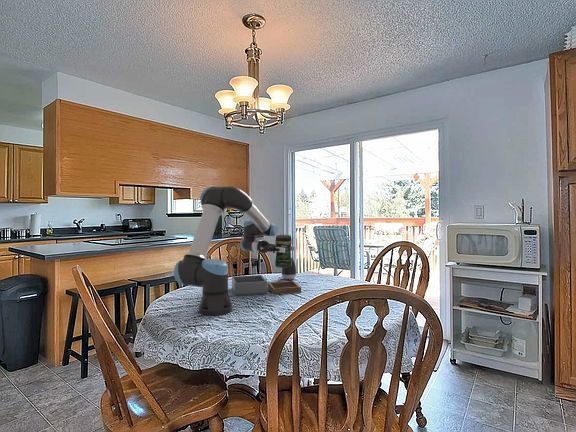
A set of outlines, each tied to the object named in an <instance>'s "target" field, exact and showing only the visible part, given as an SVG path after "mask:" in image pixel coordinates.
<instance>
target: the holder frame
mask: <svg viewBox="0 0 576 432" xmlns="http://www.w3.org/2000/svg"><path fill="white" fill-rule="evenodd" d="M268 290H269V291H270V292H271V293H272V295H281V294H292V293H293V294H297V293H302V286H300V285H299V284H298V283H297V282H296V281H295V280H288V281H285V280H284V281H268Z"/></svg>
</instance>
